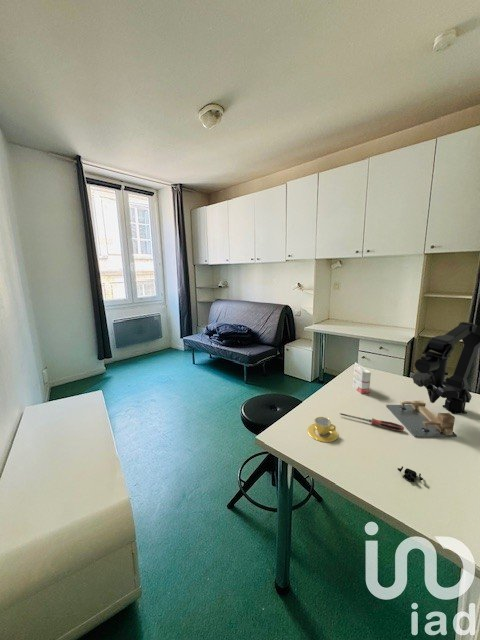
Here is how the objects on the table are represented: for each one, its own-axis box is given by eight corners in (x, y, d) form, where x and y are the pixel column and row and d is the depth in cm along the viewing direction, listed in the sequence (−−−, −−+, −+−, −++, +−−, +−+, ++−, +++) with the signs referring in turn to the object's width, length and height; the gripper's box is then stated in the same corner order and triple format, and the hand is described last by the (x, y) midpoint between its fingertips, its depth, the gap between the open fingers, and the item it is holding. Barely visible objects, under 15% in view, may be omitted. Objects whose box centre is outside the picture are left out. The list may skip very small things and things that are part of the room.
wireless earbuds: (424, 474, 82) (423, 479, 78) (423, 482, 82) (422, 487, 78) (399, 464, 87) (397, 468, 83) (398, 471, 87) (395, 476, 83)
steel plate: (420, 406, 122) (421, 404, 121) (456, 437, 100) (457, 434, 100) (386, 406, 123) (386, 404, 122) (414, 437, 101) (414, 434, 101)
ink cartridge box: (369, 393, 136) (372, 367, 132) (361, 393, 135) (362, 367, 132) (360, 385, 144) (362, 360, 141) (352, 386, 143) (353, 361, 140)
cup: (305, 438, 103) (305, 426, 102) (309, 421, 114) (309, 410, 112) (337, 446, 98) (338, 433, 97) (338, 427, 109) (339, 416, 108)
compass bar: (419, 404, 121) (420, 398, 121) (455, 434, 100) (456, 427, 99) (396, 404, 122) (397, 398, 121) (427, 434, 101) (428, 427, 100)
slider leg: (447, 427, 104) (449, 413, 103) (452, 432, 101) (455, 417, 100) (420, 427, 105) (422, 413, 103) (425, 431, 102) (427, 417, 100)
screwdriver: (338, 418, 115) (339, 412, 115) (339, 414, 118) (340, 409, 117) (403, 434, 103) (404, 427, 103) (403, 430, 106) (404, 423, 105)
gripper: (403, 360, 115) (400, 391, 119) (432, 378, 97) (427, 415, 100) (429, 359, 115) (425, 391, 118) (462, 378, 97) (456, 415, 100)
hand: (432, 402), depth 109 cm, fingers closed
